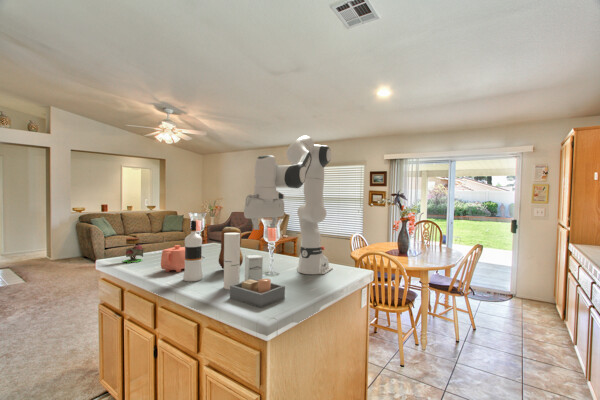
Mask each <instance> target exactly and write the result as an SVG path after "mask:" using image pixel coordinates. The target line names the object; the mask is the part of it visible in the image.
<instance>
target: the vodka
mask: <svg viewBox="0 0 600 400" xmlns="http://www.w3.org/2000/svg"><path fill="white" fill-rule="evenodd" d="M184 247H185V269H183V270H184V271H183V277H182V278H183V281H185V282H188V283H189V282H190V283H193V282H198V281H201V280H202V279H203V277H204V275H203V268H202V267H203V266H202V261H203V259H202V252H203V251H202V248H203V237H202V236H201V235H200V234H198V233H197V220H190V234H188V235H187V236H186V237H184Z"/></svg>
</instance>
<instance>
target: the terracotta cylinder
mask: <svg viewBox="0 0 600 400" xmlns="http://www.w3.org/2000/svg"><path fill="white" fill-rule="evenodd" d="M271 283H272V281H271V279H269V278H262V279H260V280H258V293H264V292H267V291H270V290H271Z"/></svg>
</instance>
